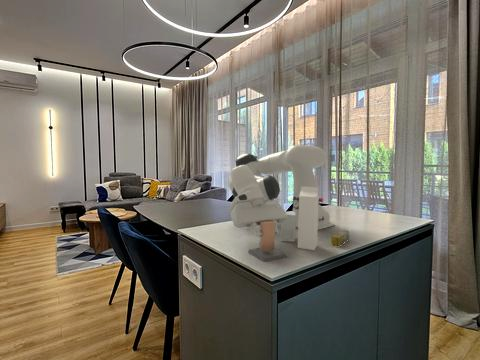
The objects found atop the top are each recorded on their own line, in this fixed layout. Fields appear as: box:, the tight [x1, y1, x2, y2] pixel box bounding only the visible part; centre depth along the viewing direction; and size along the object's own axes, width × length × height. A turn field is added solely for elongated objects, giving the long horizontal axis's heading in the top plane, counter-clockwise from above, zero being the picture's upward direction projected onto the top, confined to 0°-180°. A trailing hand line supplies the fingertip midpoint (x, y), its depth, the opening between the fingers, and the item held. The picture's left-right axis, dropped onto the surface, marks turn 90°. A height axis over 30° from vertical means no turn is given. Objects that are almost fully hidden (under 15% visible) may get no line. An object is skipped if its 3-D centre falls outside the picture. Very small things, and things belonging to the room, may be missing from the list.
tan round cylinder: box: [259, 220, 276, 251], centre depth 87 cm, size 5×5×9 cm
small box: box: [280, 210, 296, 243], centre depth 105 cm, size 8×6×10 cm
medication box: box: [331, 230, 350, 247], centre depth 101 cm, size 12×3×4 cm, turn 140°
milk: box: [297, 187, 320, 251], centre depth 95 cm, size 6×6×22 cm
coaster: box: [247, 247, 287, 262], centre depth 87 cm, size 9×9×1 cm
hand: (268, 234), depth 86 cm, fingers closed on tan round cylinder, 5 cm apart
